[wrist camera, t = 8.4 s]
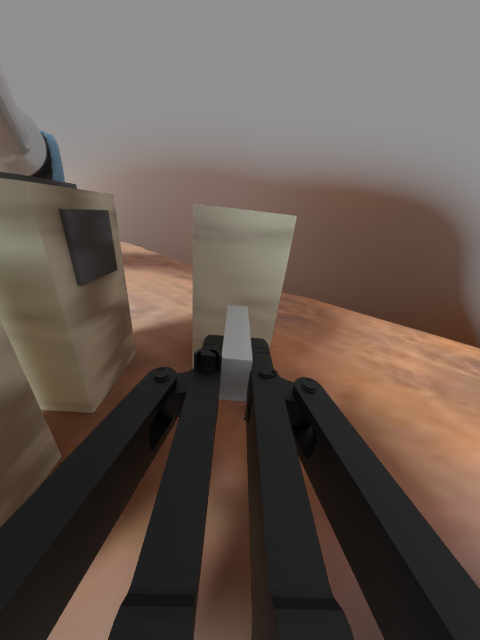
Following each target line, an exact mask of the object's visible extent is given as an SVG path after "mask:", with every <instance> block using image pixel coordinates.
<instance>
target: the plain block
mask: <svg viewBox="0 0 480 640" xmlns="http://www.w3.org/2000/svg"><path fill="white" fill-rule="evenodd" d="M296 218H297V216H292V215H284V214H276V213H267V212H259V211H250V210H242V209H233V208H225V207H216V206H208V205H200V204H193V334H192V369H194V353H195V352H196V351H197V350H199V349H201V348H202V345H203V342H204V338H205V337H207V336H208V335H209V334H210V335H221V336H224V332H225V324H226V316H227V308H228V305H237V306H247V307H248V316H249V327H250V337H251V338H261V339H264V340H265V341H266V342H267V343H268V346H269V351H270V346H271V341H272V336H273V331H274V326H275V321H276V316H277V312H278V307H279V302H280V297H281V292H282V287H283V282H284V277H285V272H286V267H287V262H288V257H289V252H290V247H291V243H292V238H293V233H294V227H295V223H296Z"/></svg>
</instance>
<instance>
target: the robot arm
mask: <svg viewBox="0 0 480 640" xmlns="http://www.w3.org/2000/svg"><path fill="white" fill-rule="evenodd" d="M0 172H6V173H14V174H21V175H26V176H32V177H37V178H43V179H49V180H54V181H60V182H65V181H64V172H63V167H62V161H61V156H60V152H59V148H58V144H57V142H56V140H55V138H54V137H53V136H52V135H50V134H48V133H45V132H44V131H41V130H39V128H38V127H37V126H36V124H35V123H34V122H33V120H32V119H31V118H30V117H29V116H28V115H27V114H26V113H25V112H24V111H23V110H22V109H20V108H19V107H18V106H17V104H16V102H15V100H14V97H13V95H12V92H11V90H10V88H9V85H8V83H7V81H6V78H5V76H4V73H3V71H2V69H1V66H0ZM246 398H247V406H246V412H245V418H244V420H246V432H247V464H248V496H249V528H250V560H251V592H252V639H251V640H354V638H353V635H352V631H351V628H350V625H349V623H348V621H347V618H346V616H345V614H344V611H343V610H342V608H341V607H340V606H339V604H338V603H337V601H336V600H335V599H334V596H333V594H332V592H331V588H330V585H329V582H328V577H327V573H326V569H325V565H324V561H323V557H322V553H321V548H320V544H319V540H318V536H317V532H316V528H315V524H314V519H313V515H312V511H311V507H310V503H309V499H308V495H307V490H306V486H305V482H304V478H303V474H302V470H301V466H300V461H299V458H300V460H301V462H302V465H303V467H304V469H305V471H306V473H307V475H308V477H309V479H310V482H311V484H312V486H313V488H314V490H315V492H316V494H317V496H318V499H319V501H320V503H321V505H322V507H323V509H324V511H325V514H326V516H327V518H328V520H329V522H330V524H331V526H332V528H333V531H334V533H335V535H336V537H337V539H338V541H339V543H340V545H341V548H342V550H343V552H344V554H345V556H346V558H347V560H348V562H349V565H350V567H351V569H352V571H353V573H354V575H355V577H356V580H357V582H358V584H359V586H360V588H361V590H362V592H363V594H364V597H365V599H366V601H367V603H368V605H369V607H370V609H371V611H372V614H373V616H374V618H375V620H376V622H377V624H378V626H379V629H380V631H381V633H382V635H383V637H384V639H385V640H480V589H479V588H478V586H477V585H476V584H475V583H474V581H473V580H472V579H471V577H470V576H469V575H468V574H467V572H466V571H465V570H464V568H463V567H462V566H461V565H460V563H459V562H458V561H457V559H456V558H455V557H454V556H453V554H452V553H451V552H450V550H449V549H448V548H447V547H446V545H445V544H444V543H443V541H442V540H441V539H440V538H439V536H438V535H437V534H436V533H435V531H434V530H433V529H432V527H431V526H430V525H429V524H428V522H427V521H426V520H425V518H424V517H423V516H422V515H421V513H420V512H419V511H418V509H417V508H416V507H415V506H414V504H413V503H412V502H411V500H410V499H409V498H408V497H407V495H406V494H405V493H404V491H403V490H402V489H401V488H400V486H399V485H398V484H397V482H396V481H395V480H394V479H393V477H392V476H391V475H390V474H389V472H388V471H387V470H386V468H385V467H384V466H383V465H382V463H381V462H380V461H379V459H378V458H377V457H376V456H375V454H374V453H373V452H372V450H371V449H370V448H369V447H368V445H367V444H366V443H365V441H364V440H363V439H362V438H361V436H360V435H359V434H358V432H357V431H356V430H355V429H354V427H353V426H352V425H351V424H350V422H349V421H348V420H347V418H346V417H345V416H344V415H343V413H342V412H341V411H340V409H339V408H338V407H337V406H336V404H335V403H334V402H333V400H332V399H331V398H330V397H329V395H328V394H327V393H326V391H325V390H324V389H323V388H322V386H321V385H320V384H319V383H318V382H316V381H315V380H313V379H310V378H306V377H301V378H298V379H297V380H296V381H295V383H294V382H291V381H288V380H285V379H283V378H281V377H279V375H278V373H277V371H276V370H275V369H274V368H273V364H272V360H271V355H270V351H269V346H268V343H267V342H266V341H265V340H264V339H261V338H251V337H250V327H249V316H248V307H247V306H237V305H228V308H227V316H226V324H225V332H224V336H221V335H210V334H209V335H208V336H207V337H205V338H204V342H203V345H202V348H201V349H199V350H197V351H196V352H195V353H194V369H192V370H190V371H188V372H184V373H178V374H176V371H175V370H174V369H172V368H170V367H159V368H156V369H153V370H152V371H150V372H149V373H148V374H147V375H146V376H145V377H144V378H143V379H142V380H141V381H140V382H139V383H138V384H137V385H136V386H135V388H134V389H133V390H132V391H131V392H130V393H129V394H128V395H127V396H126V397H125V398H124V399H123V400H122V401H121V402H120V403H119V404H118V405H117V406H116V407H115V408H114V409H113V410H112V411H111V413H110V414H109V415H108V416H107V417H106V418H105V419H104V420H103V421H102V422H101V423H100V424H99V425H98V426H97V427H96V428H95V429H94V430H93V431H92V432H91V433H90V434H89V435H88V436H87V438H86V439H85V440H84V441H83V442H82V443H81V444H80V445H79V446H78V447H77V448H76V449H75V450H74V451H73V452H72V453H71V454H70V455H69V456H68V457H67V458H66V459H65V460H64V461H63V463H62V464H61V465H60V466H59V467H58V468H57V469H56V470H55V471H54V472H53V473H52V474H51V475H50V476H49V477H48V478H47V479H46V480H45V481H44V482H43V483H42V484H41V485H40V486H39V488H38V489H37V490H36V491H35V492H34V493H33V494H32V495H31V496H30V497H29V498H28V499H27V500H26V501H25V502H24V503H23V504H22V505H21V506H20V507H19V508H18V509H17V510H16V511H15V513H14V514H13V515H12V516H11V517H10V518H9V519H8V520H7V521H6V522H5V523H4V524H3V525H2V526H1V527H0V640H46V639H47V638H48V636H49V634H50V633H51V631H52V629H53V628H54V626H55V624H56V623H57V621H58V619H59V617H60V616H61V614H62V612H63V611H64V609H65V607H66V606H67V604H68V602H69V601H70V599H71V597H72V596H73V594H74V592H75V590H76V589H77V587H78V585H79V584H80V582H81V580H82V579H83V577H84V575H85V574H86V572H87V570H88V569H89V567H90V565H91V564H92V562H93V560H94V558H95V557H96V555H97V553H98V552H99V550H100V548H101V547H102V545H103V543H104V542H105V540H106V538H107V537H108V535H109V533H110V531H111V530H112V528H113V526H114V525H115V523H116V521H117V520H118V518H119V516H120V515H121V513H122V511H123V510H124V508H125V506H126V504H127V503H128V501H129V499H130V498H131V496H132V494H133V493H134V491H135V489H136V488H137V486H138V484H139V483H140V481H141V479H142V478H143V476H144V474H145V472H146V471H147V469H148V467H149V466H150V464H151V462H152V461H153V459H154V457H155V456H156V454H157V452H158V451H159V449H160V447H161V445H162V444H163V442H164V440H165V439H166V437H167V435H168V434H169V432H170V430H171V429H172V427H173V425H174V424H175V422H176V420H177V418H178V417H180V418H179V421H178V424H177V428H176V431H175V435H174V438H173V442H172V445H171V449H170V452H169V456H168V459H167V463H166V466H165V469H164V473H163V476H162V480H161V483H160V487H159V490H158V494H157V497H156V501H155V504H154V508H153V511H152V515H151V518H150V521H149V525H148V528H147V532H146V535H145V539H144V542H143V546H142V549H141V553H140V556H139V560H138V563H137V566H136V570H135V573H134V577H133V580H132V583H131V586H130V589H129V591H128V594H127V595H126V597H125V599H124V600H123V602H122V604H121V606H120V608H119V610H118V613H117V615H116V618H115V620H114V623H113V626H112V629H111V632H110V635H109V638H108V640H194V629H195V619H196V609H197V600H198V591H199V581H200V572H201V562H202V553H203V543H204V534H205V524H206V515H207V505H208V496H209V487H210V477H211V468H212V458H213V449H214V439H215V430H216V420H217V411H218V400H232V401H246ZM298 456H299V457H298Z"/></svg>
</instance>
